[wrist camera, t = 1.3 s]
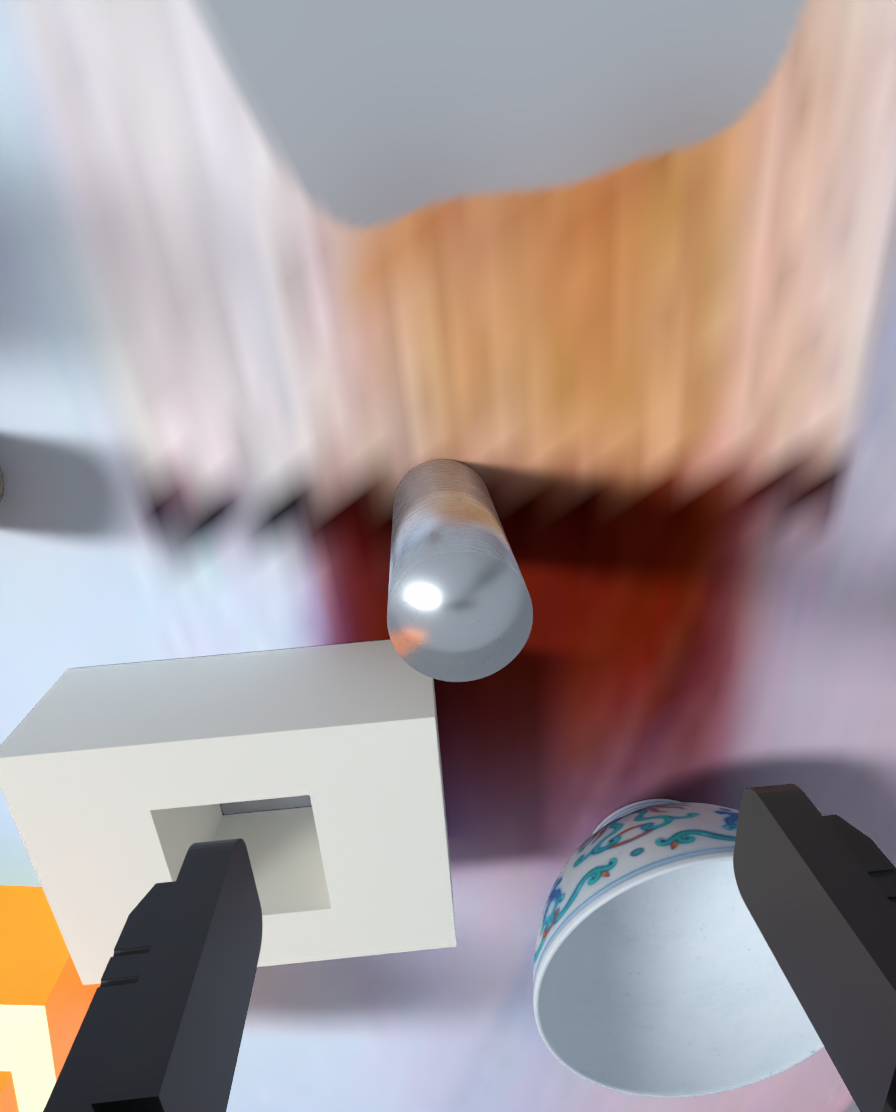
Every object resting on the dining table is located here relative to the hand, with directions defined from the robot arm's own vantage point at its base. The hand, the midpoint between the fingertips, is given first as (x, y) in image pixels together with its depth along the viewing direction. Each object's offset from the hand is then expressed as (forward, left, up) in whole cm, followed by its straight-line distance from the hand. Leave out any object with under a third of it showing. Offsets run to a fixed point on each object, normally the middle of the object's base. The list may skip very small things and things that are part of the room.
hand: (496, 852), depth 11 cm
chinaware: (-10, +20, -18) cm, 29 cm away
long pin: (0, 0, -18) cm, 18 cm away
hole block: (+9, +12, -18) cm, 23 cm away
